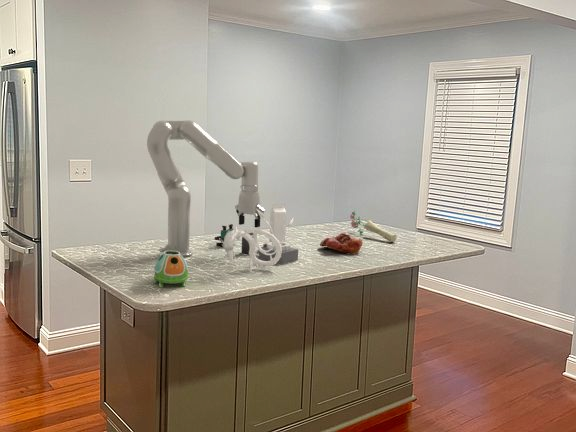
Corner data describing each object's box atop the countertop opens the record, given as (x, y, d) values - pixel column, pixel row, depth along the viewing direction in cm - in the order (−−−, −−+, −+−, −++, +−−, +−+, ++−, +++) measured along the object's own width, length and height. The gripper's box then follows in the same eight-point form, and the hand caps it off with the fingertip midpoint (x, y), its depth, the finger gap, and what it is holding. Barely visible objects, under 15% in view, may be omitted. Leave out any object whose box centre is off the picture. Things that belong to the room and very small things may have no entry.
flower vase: (384, 256, 304) (340, 231, 329) (400, 247, 310) (355, 223, 335) (385, 237, 298) (340, 213, 323) (401, 229, 304) (356, 206, 329)
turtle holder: (180, 274, 223) (181, 245, 221) (192, 287, 207) (192, 255, 205) (148, 276, 218) (149, 246, 216) (157, 290, 202) (158, 257, 200)
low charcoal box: (282, 264, 247) (283, 248, 246) (258, 258, 255) (258, 243, 254) (297, 260, 255) (298, 244, 254) (273, 254, 264) (274, 239, 263)
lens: (247, 255, 260) (248, 233, 259) (238, 253, 264) (239, 231, 262) (255, 253, 265) (256, 232, 263) (246, 251, 268) (247, 230, 266)
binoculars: (222, 223, 284) (237, 224, 278) (223, 244, 285) (238, 245, 279) (209, 225, 277) (224, 226, 271) (210, 246, 278) (225, 248, 272)
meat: (310, 247, 285) (311, 227, 283) (346, 244, 294) (348, 225, 292) (332, 256, 266) (333, 235, 265) (369, 253, 276) (371, 233, 274)
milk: (269, 248, 277) (270, 203, 273) (280, 247, 279) (282, 203, 275) (273, 251, 271) (274, 205, 268) (285, 250, 273) (286, 205, 270)
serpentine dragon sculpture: (291, 253, 261) (280, 200, 258) (319, 255, 245) (307, 198, 242) (210, 282, 237) (196, 224, 234) (234, 286, 220) (220, 223, 217)
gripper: (230, 187, 262) (230, 224, 264) (258, 191, 251) (258, 229, 254) (241, 186, 267) (241, 222, 270) (269, 189, 257) (268, 227, 260)
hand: (249, 225), depth 262 cm, fingers open, 9 cm apart
